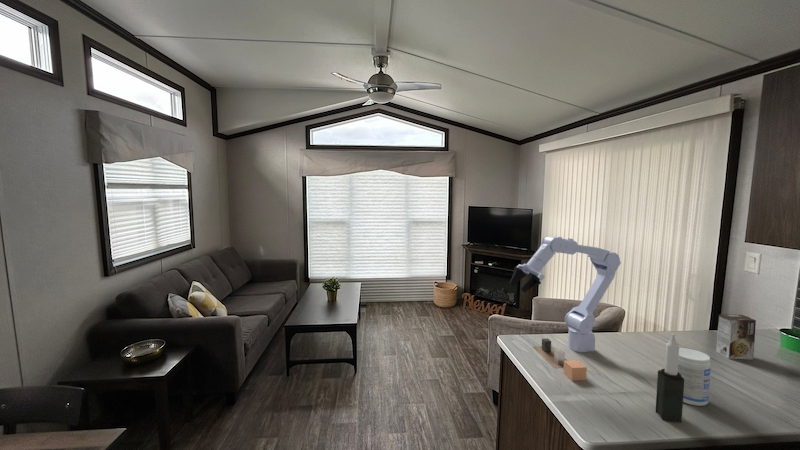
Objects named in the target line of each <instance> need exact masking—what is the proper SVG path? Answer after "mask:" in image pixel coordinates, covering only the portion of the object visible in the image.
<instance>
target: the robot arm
mask: <svg viewBox="0 0 800 450" xmlns="http://www.w3.org/2000/svg"><path fill="white" fill-rule="evenodd" d="M556 253H557V254H558V253H559V254H561V253H562V254H566V255H574V254H576V253H580V254H584V255H587V256H588V258H589V260H590V262H591V264H592V265H593V267H594V269H595V270H596V271H597V276H596V277H595V279H594V280H593V282H592V284H591V285H590V287H589V288H588V290H587V292H586V294H585V295H584V297H583V299H582V300H581V302H580V303H579V305H578V306H574V307H572V309H570V311H569V312H567V313H566V314H565V316H564V322H565V324H566V325H567V328H568V331H567V332H568V336H567V348H568V349H569V350H571V351H573V352H578V353H585V352H586V353H587V352H595V350H596V337H595V334H594V333H593V328H594V323H595V321H596V318H595V315H594V314H593V313H594V312H595V310H596V309H597V307H598V305H599V304H600V302H601V300H602V299H603V297H604V295H605V293H606V292H607V290H608V288H609V287H610V285H611V283H612V281H613V280H614V278H615V276H616V272H617V271H618V269H619V267H620V265H621V263H622V262H621V258H620V256H619V254H618V253H616V252H611V251H610V250H607V249H605V248H604V249H603V248H600V247H598V246H597V247H596V246H591V245H585V244H584V245H583V244H579V243H578V242H577V241H576V240H574V238H563V237H562V236H558V237H557V236H556V237H555V236H551V235H549V236H546V237H545V238H542V239H541V245H540V246H539V248H538V249H537V250H536V251H535V253H534V254H533V255H532V257H531V258H530V259H529V260H528V262H527V263H523V264H520V263H518V265H516V266H514V268H513V273H512V277H511V278H510V280H509V282H508V284H509V285H510V286H512V287H515V286H516V285H517V284H518V283H519V282H520V281H521V280H522V279H524V278H525V277H527V278H526V280H524V283H523V284H522V286H521V287H520V290H521V291H522V292H523V293H526V292H528V291H529V290H531V289H532V288H535V286H539V285H541V284H542V282H541V281H543V280H544V279H545V277H546V276H545V275H544V274H543V273H541V272H542V270H543V269H544V268H545V266H546V265H547V264H548V263H549V261H551V259H552V258H553V257H554V256H555V254H556Z"/></svg>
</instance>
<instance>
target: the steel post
mask: <svg viewBox="0 0 800 450" xmlns="http://www.w3.org/2000/svg"><path fill="white" fill-rule="evenodd" d="M565 353H566V352H565V350H562V349H559V348H558V349H555V353H554V361H555V362H556V363H557V364H564V361H565V359H566V354H565Z"/></svg>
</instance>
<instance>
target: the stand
mask: <svg viewBox="0 0 800 450" xmlns="http://www.w3.org/2000/svg"><path fill="white" fill-rule="evenodd" d="M532 348H533V349H534V350H535V351H536V352H537V353H538V354H539V355H540V356H542V358H544V359H545V361H546V362H548V364H550V365H551V366H552V367H553V368H554V369H564V364H557V363H556V362H555V361H554V353H555V350H556V349H555V347H553V346H552V340H551V339H549V338H541V346H540V345H538V346H532ZM565 361H569V360H568V359H567V358H565Z"/></svg>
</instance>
